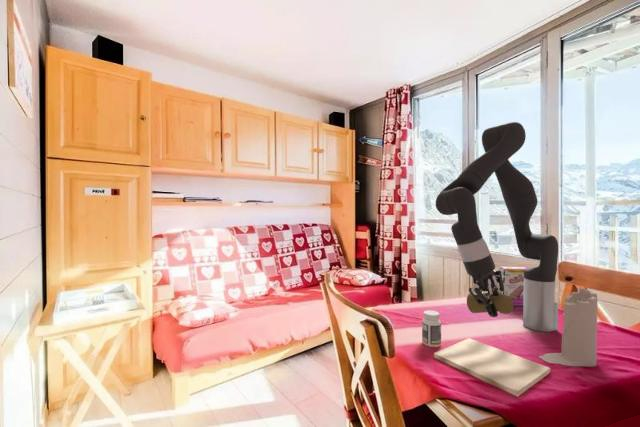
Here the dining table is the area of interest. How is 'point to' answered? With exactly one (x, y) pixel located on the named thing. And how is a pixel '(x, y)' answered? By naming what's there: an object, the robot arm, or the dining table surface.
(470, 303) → the cork
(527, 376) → the birch board
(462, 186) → the robot arm
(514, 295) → the candy bar box
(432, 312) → the pill bottle
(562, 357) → the candle
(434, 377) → the dining table surface
